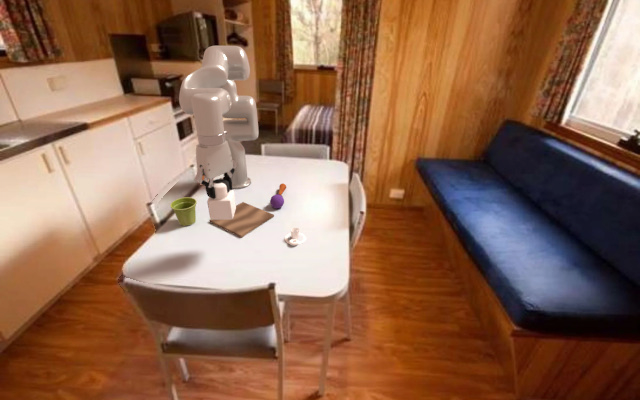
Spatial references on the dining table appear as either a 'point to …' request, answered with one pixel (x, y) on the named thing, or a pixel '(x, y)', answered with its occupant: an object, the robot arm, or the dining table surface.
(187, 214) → the plant pot
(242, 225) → the walnut board
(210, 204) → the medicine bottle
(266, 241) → the dining table surface
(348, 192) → the dining table surface
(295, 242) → the white rounded piece
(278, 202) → the purple maraca
